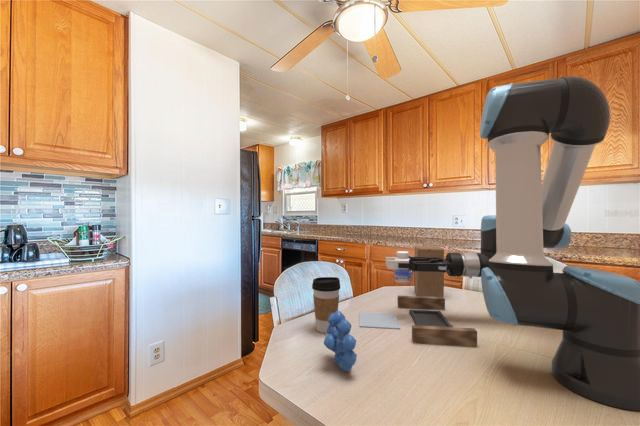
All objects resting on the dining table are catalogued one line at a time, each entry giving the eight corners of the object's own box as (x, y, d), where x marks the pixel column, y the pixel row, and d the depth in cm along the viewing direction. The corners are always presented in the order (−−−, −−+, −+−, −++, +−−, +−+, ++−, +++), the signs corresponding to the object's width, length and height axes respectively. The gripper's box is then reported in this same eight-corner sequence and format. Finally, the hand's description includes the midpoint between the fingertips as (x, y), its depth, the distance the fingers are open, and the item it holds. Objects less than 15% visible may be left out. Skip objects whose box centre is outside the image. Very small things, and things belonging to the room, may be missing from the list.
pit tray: (439, 314, 97) (439, 310, 97) (456, 335, 81) (456, 330, 81) (409, 313, 98) (409, 309, 98) (419, 333, 82) (419, 329, 82)
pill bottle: (412, 284, 91) (412, 253, 91) (395, 283, 92) (395, 253, 92) (410, 279, 97) (410, 250, 96) (393, 279, 98) (393, 250, 97)
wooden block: (443, 300, 112) (444, 249, 112) (417, 298, 114) (417, 248, 114) (438, 292, 122) (439, 245, 122) (414, 291, 124) (414, 245, 124)
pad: (394, 314, 97) (394, 313, 97) (400, 329, 85) (400, 328, 85) (359, 312, 98) (359, 311, 98) (359, 327, 86) (359, 326, 86)
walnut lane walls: (443, 308, 103) (443, 297, 103) (477, 346, 74) (477, 331, 74) (397, 306, 105) (397, 295, 105) (413, 343, 76) (413, 328, 76)
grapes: (313, 357, 69) (313, 307, 69) (339, 351, 71) (339, 303, 71) (334, 384, 58) (334, 325, 58) (363, 377, 61) (363, 320, 61)
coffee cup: (336, 337, 80) (336, 283, 79) (307, 332, 82) (307, 280, 82) (343, 325, 88) (343, 276, 87) (317, 321, 90) (317, 274, 90)
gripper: (471, 283, 83) (388, 280, 86) (452, 270, 101) (384, 268, 104) (471, 257, 82) (388, 255, 86) (452, 248, 101) (384, 247, 104)
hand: (386, 262), depth 95 cm, fingers closed on pill bottle, 5 cm apart
